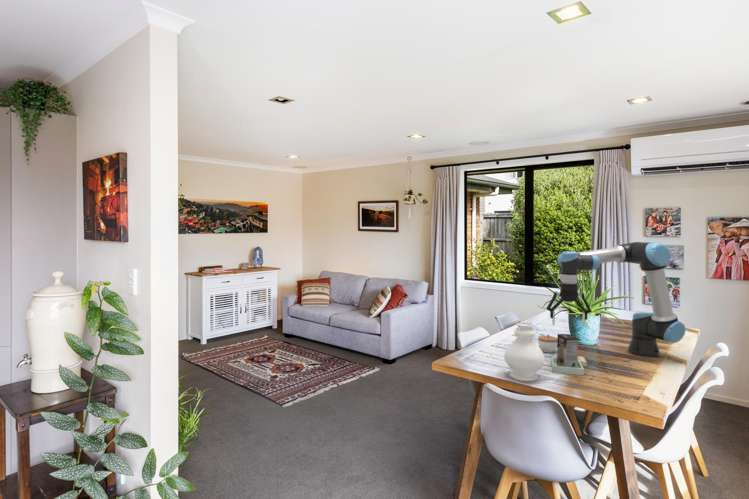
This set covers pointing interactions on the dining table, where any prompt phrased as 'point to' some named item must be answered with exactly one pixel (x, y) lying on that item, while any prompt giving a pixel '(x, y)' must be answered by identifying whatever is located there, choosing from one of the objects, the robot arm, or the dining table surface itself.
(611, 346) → the dining table surface
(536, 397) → the dining table surface
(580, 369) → the tray
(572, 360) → the coffee box
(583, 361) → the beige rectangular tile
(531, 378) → the decorative vase
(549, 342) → the lidded jar
